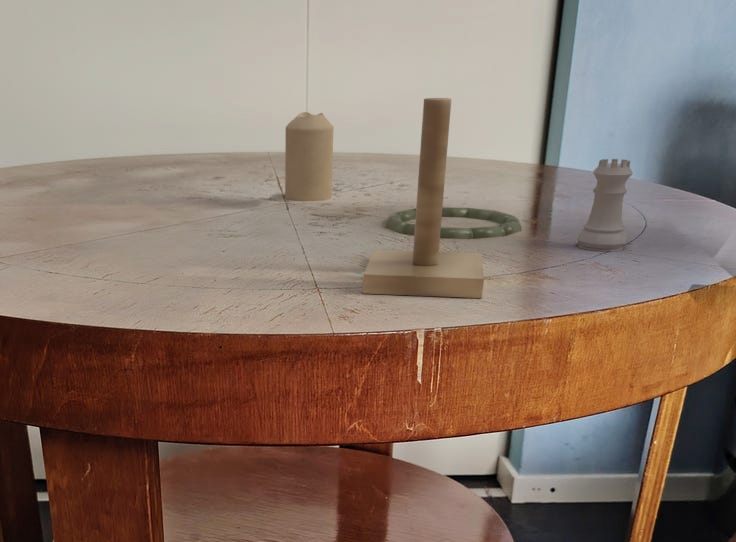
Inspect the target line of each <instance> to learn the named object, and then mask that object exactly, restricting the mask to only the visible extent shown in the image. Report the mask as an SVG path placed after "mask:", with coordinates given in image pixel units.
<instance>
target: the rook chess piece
mask: <svg viewBox="0 0 736 542" xmlns="http://www.w3.org/2000/svg"><path fill="white" fill-rule="evenodd" d="M618 162H619V158H611V162H610V163H609V159H608V158H602V159H599V161H598V166H597V167H596V168H595V169H594V170H593V171H592V174H593V175H594V177H595V179H596V185H595V187H594V188H593V189H592V192H593V193H594V196H593V202H592V207H591V210H590V213H589V216H588V219H587V221H586V223H585V224H584V225H583V229H582V230H581V231H580V232H579V233H578V234H577V236H576V240H577V242H578V245H577V247H578V248H580V249H583V250H586V251H593V252H619V251H622V250H624V246H625V245H626V244H627V243H628V235H627V234H626V232H625V226H624V225H623V202H624V196H625V195H626V193H627V192H628V190H627V189H626V183H627V181H628V180H629V179H630V178H631V177H632V175H633V174H634V172H633V171H632V169H631V167H630V165H631V160H628V159H621V161H620V163H618Z"/></svg>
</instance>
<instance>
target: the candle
mask: <svg viewBox="0 0 736 542" xmlns="http://www.w3.org/2000/svg"><path fill="white" fill-rule="evenodd" d="M284 151H285V152H284V153H285V157H284V158H285V160H284V163H285V165H284V166H285V167H284V168H285V171H284V178H285V179H284V181H285V182H284V193H285V194H284V199H286V200H289V201H294V202H321V201H328V200H330V199H332V193H333V191H332V190H333V189H332V188H333V159H334V156H333V154H334V126H333V124H332V123H331V122H330V121H329V119H327V117H326V116H325V114H324V113H323V112H320V113H318V114H312V113H310V112H308V111H304V112H300V113H298V114H297V116H295V117H294V118H293V119H292V120H291V121H290V122H289V123H288V124H287V125H286V126H285V149H284Z"/></svg>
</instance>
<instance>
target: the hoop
mask: <svg viewBox="0 0 736 542" xmlns="http://www.w3.org/2000/svg"><path fill="white" fill-rule="evenodd" d="M442 218H467V219H475V220H483V221H489V222H493V223H496V224H498V225H491V226H479V227H478V226H477V227H447V226H445V227H443V226H441V232H440V239H449V240H451V239H452V240H479V239H491V238H503V237H508V236H510V235H514V234H516V233H517V234H518V233H519V232H522V226H521V221H520V219H519V218H518V217H517V216H516V215H512V214H509V213H505V212H502V211H499V210H491V209H484V208H473V207H456V206H455V207H453V206H451V207H450V206H449V207H448V206H443V208H442ZM413 220H416V208H409V209H405V210H401V211H397V212H393V213H391V214H389V216H388V217H387V220H386V222H385V223H384V224H385V225H384V228H386V229H388V230H390V231H394V232H396V233H399V234H401V235H408V236H414V234H415V223H409V221H413Z"/></svg>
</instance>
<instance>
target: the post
mask: <svg viewBox="0 0 736 542" xmlns="http://www.w3.org/2000/svg"><path fill="white" fill-rule="evenodd" d="M451 109H452V98H448V97H427V98H424V99H423V107H422V121H421V134H420V150H419V164H418V177H417V195H416V206H415V207H416V208H415V209H416V219H414V224H415V234H414V235H413V250H386V249H385V250H384V249H382V250H381V249H374V250H373V251H372V253H371V256H370V258H369V260H368V262H367V265H366V268H365V269H364V272H363V274H362V294H365V295H367V294H369V295H392V296H394V295H395V296H417V297H418V296H419V297H441V298H442V297H444V298H462V299H463V298H464V299H465V298H466V299H482V298H483V292H484V281H485V275H484V264H483V254H482V253H478V252H450V251H449V252H447V251H445V252H444V251H440V243H441V238H440V232H441V227H442V219H443V217H442V208H443V207H444V194H445V193H444V192H445V184H446V183H445V182H446V170H447V158H448V147H449V135H450V134H449V133H450V122H451V120H450V119H451Z"/></svg>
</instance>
